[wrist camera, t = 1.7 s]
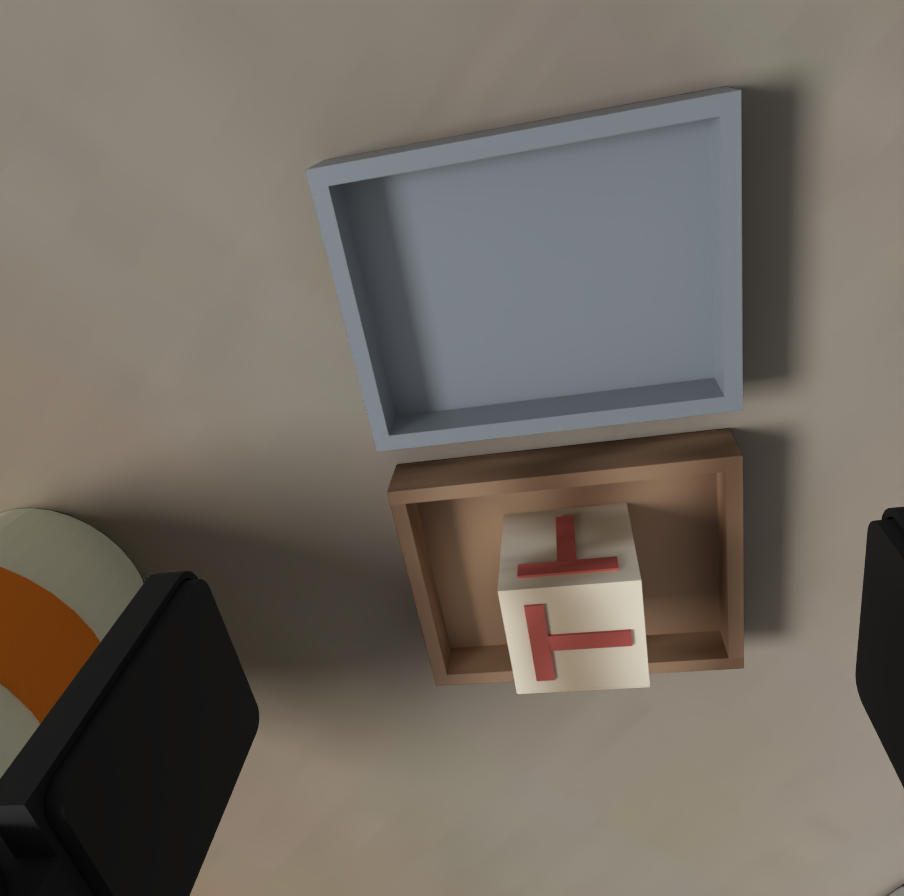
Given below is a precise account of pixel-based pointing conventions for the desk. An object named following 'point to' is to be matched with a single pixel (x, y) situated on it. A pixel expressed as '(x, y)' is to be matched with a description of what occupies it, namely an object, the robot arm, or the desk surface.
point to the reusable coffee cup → (51, 612)
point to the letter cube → (572, 600)
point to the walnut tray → (570, 486)
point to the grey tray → (543, 272)
